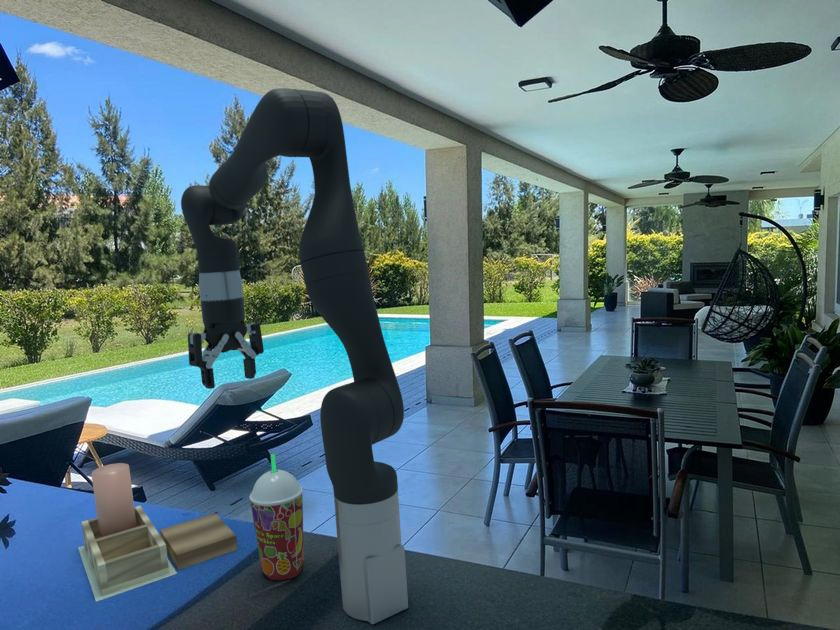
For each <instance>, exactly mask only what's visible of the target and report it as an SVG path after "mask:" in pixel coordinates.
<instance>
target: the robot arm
mask: <svg viewBox="0 0 840 630" xmlns="http://www.w3.org/2000/svg"><path fill="white" fill-rule="evenodd" d="M279 156H281V157H285V158H309V161H310V164H311V168H312V174H313V175H312V176H313V181H314V183H313V185H314V195H313V200H312V204H311V207H310V210H309V213H308V216H307V219H306V222H305V224H304V227H303V229H302V234H301V237H300V241H299V246H298V257H299V262H300V267H301V268H300V269H301V271H302V276H303V281H304V286H305V289H306V293H307V295H308V298H309V301H310V302H311V304H312V306H313V307H314V308H315V310H316V311H317V313H318V314H319V315H320V316H321V318H322V320H324V322H326V324H327V325H328V326H329V327H330V328H331V330H332V331H333V332H334V334H335V335H336V336H337V338H338V339H339V341H340V343H341V344H342V346H343V347H344V349H345V352H346V354H347V358H348V362H349V364H350V368H351V369H350V370H351V372H352V377H353V382H348V383H346V384H343V385H339V386H337V387H334V388H332V389H330V390H329V391H328V392H327V393H326V394H325V395H324V396H323V399H322V402H321V405H320V415H319V417H320V430H321V436H322V444H323V452H324V459H325V466H326V471H327V474H328V477H329V480H330V482H331V484H332V489H333V490H332V491H333V499H334V513H335V514H334V515H335V526H336V539H337V551H338V565H339V576H340V577H339V579H340V587H341V598H342V600H341V601H342V608H343V611H344V612H345V614H347V616H350V617H351V618H352V619H356V620H359V621H363V622H364V621H366V622H368V623H369V624H371V625H374V624H377V623H380V622H382V621H383V620H386V619H387V618H389V617H392V616H394V615H396V614H398V613H401V612H402V611H404V610H406V609H408V608H409V601H408V599H409V598H408V597H409V596H408V583H407V570H406V569H407V566H406V554H405V552H406V551H405V550H406V549H405V547H404V546H403V544H402V532H401V531H402V530H401V519H400V518H401V517H400V516H401V515H400V501H399V500H400V499H399V485H398V484H399V483H398V474H397V471H396V469H395V468H394V467H393V466H392V465H390V464H389V463H385V462H382V461H375V458H374V453H373V445H375V444H377V443H379V442H382V441H383V440H386V439H388V438H390V437H392V436H394V435H395V434H397V433H398V432H399V431H400V429H401V427H402V426H403V422H404V418H405V417H404V415H405V407H404V401H403V396H402V392H401V388H400V386H399V385H400V384H399V383H398V379H397V376H396V373H395V370H394V366H393V363H392V360H391V358H390V354H389V352H388V347H387V345H386V344H387V343H386V341H385V338H384V335H383V330H382V325H381V323H380V318H379V314H378V310H377V305H376V302H375V297H374V293H373V288H372V282H371V276H370V272H369V271H370V270H369V267H368V263H367V257H366V253H365V248H364V245H363V240H362V238H361V237H362V236H361V234H360V229H359V225H358V219H357V215H356V209H355V204H354V198H353V193H352V188H351V183H350V182H351V180H350V172H349V164H348V156H347V147H346V138H345V132H344V124H343V120H342V116H341V113H340V109H339V108H338V104H337V103H336V101H335V99H334V98H333V97H332V96H331V95H329V94H328V93H325V92H322V91H316V90H307V89H306V90H305V89H298V88H288V87H287V88H286V87H284V88H283V87H281V88H272V89H270V90H268V91H267V92H266V93H265V94H264V95H263V96H262V97H261V99H260V100H259V101H258V103H257V105H256V106H255V108H254V110H253V112H252V114H251V116H250V117H249V120H248V121H247V123H246V125H245V127H244V129H243V131H242V133H241V136H240V138H239V139H238V142H237V144H236V145H235V148H233V151H232V153H231V154H230V155H229V157H228V158H226V160H225V161H224V162H223V163H222V164H221V165H220V166H219V168H218V169H216V171H215V172H214V173H213V174H212V175H211V177H210V179H209V183H208V185H199V184H198V185H196V184H195V185H191V186H188V187H187V188H186V189H185V190H184V192H183V193H182V195H181V200H180V208H181V211H182V214H183V217H184V220H185V223H186V225H187V227H188V231H189V232H190V236H191V237H192V240H193V243H194V246H195V251H196V256H197V265H198V273H199V274H198V277H199V278H198V287H199V297H200V298H199V299H200V309H201V310H200V311H201V318H202V323H203V326H204V327H203V328H204V329H203V332H198V333H197V332H189V333H188V334H187V345H188V346H187V349H188V364H189V366H190V367H197V368H199V369H200V374H201V375H200V378H201V384H202V385H203V386H205V387H204V388H205V389H208V390H209V389H210V390H212V389H215V388H216V384H215V375H214V368H213V365H214V362H216V361H215V360H216V359H217V358H219V356H220V354H222V353H228V352H230V351H239V353H240V354H241V355H242V356H243V357H244V358H243V369H244V370H243V372H244V378H245V379H248V380H249V379H250V380H251V379H252V380H253V379H254V378H255V376H256V374H257V369H256V368H257V367H256V357H257V356H258V355H262V354H263V353H264V352H265V350H264V344H263V343H264V342H263V334H262V329H261V324H260V323H256V322H248V324H246V323H245V319H246V311H245V299H244V289H243V281H242V277H241V272H240V265H239V253H238V245H237V243H236V241H234V240H233V239H231V238H227V237H220V236H216V234H215V233H214V232H213V230H212V228H211V226H227V225H228V226H229V225H233V224H235V223H238V222H239V221H240V220H242V218H243V216H244V212H245V209H246V208H247V205H248V202H250V201H251V199H253V198H254V197H255V196H256V195H257V194H258V193H259V192H260V191H261V190H262V189H263V187H264V186H265V184H266V181H267V178H268V168H267V167H268V166H267V162H268V161H270V160H272V159H274V158H276V157H279ZM246 335H248V338H249V342H248V341H247V340H246V337H245V336H246ZM204 341H206V345H205V347H204V350H203V348H202V347H203V344H204V343H205V342H204Z"/></svg>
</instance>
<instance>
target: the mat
mask: <svg viewBox="0 0 840 630" xmlns="http://www.w3.org/2000/svg"><path fill="white" fill-rule="evenodd" d="M78 552H79V554H80V559H81V561H82V564H83V567H84V570H85V572H86V576H87V579H88V581H89V585H90V587H91V591H92V593H93V597H94V599H95V602H96V603H97V602H99V601H103V600H106V599H108V598H111V597H114V596H117V595H120V594H122V593H125V592H129V591H131V590H134V589H137V588H140V587H143V586H146V585H148V584H151V583H155V582H157V581H160V580H163V579H166V578H169V577H171V576H174V575H177V574H178V572H177V571H176V569H175V568H174V566H173V565H172V562H171V561H170V560H169V559H168V566H169V573H168V574H165V575H162V576H159V577H157V578H154V579H151V580H148V581H145V582H142V583H139V584H136V585H133V586H130V587H127V588H125V589H122V590H119V591H116V592H113V593H110V594H107V595H104V596H102V594H101V591H100V588H99V586H98V583H97V580H96V577H95V574H94V572H93V569H92V566H91V563H90V561H89V558H88V555H87V552H86V550H85V545H82V546H79V547H78Z"/></svg>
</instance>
